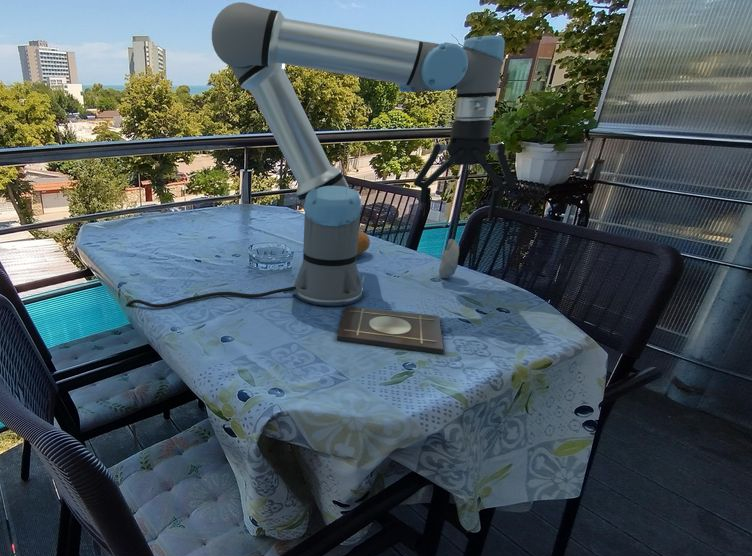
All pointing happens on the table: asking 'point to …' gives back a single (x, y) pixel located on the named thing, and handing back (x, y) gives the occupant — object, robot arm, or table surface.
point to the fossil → (449, 259)
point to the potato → (362, 243)
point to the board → (391, 329)
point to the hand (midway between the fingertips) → (457, 218)
